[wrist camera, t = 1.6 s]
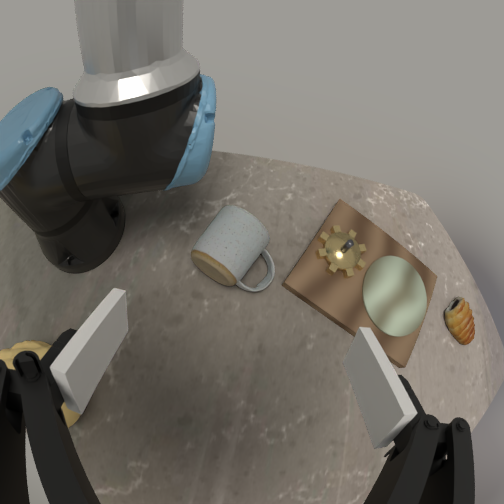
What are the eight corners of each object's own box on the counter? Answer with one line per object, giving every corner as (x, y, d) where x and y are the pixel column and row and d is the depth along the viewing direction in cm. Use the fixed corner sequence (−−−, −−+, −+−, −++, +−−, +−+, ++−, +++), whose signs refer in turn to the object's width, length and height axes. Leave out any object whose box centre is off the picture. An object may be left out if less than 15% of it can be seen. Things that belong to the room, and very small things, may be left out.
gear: (305, 257, 38) (314, 246, 35) (330, 219, 41) (339, 207, 38) (350, 289, 37) (362, 281, 34) (370, 249, 40) (381, 239, 37)
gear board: (281, 285, 38) (285, 280, 36) (336, 203, 45) (341, 197, 43) (399, 367, 35) (407, 367, 33) (432, 278, 42) (439, 275, 40)
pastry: (472, 331, 39) (485, 327, 35) (458, 354, 37) (472, 351, 33) (453, 295, 41) (466, 289, 38) (438, 316, 39) (452, 311, 36)
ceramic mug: (188, 266, 37) (183, 243, 30) (221, 223, 40) (224, 193, 33) (253, 308, 36) (265, 295, 29) (282, 261, 39) (298, 238, 32)
